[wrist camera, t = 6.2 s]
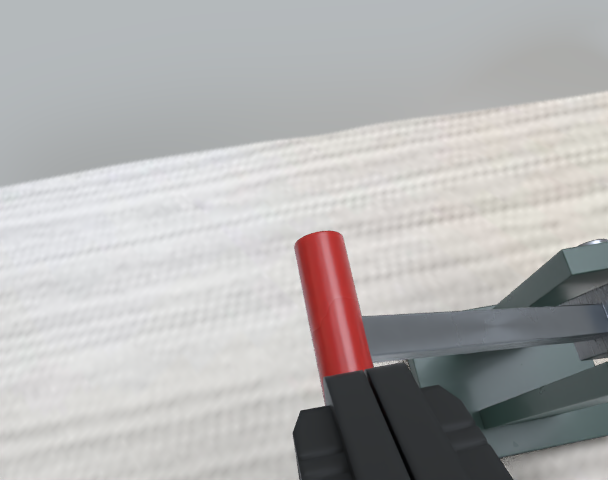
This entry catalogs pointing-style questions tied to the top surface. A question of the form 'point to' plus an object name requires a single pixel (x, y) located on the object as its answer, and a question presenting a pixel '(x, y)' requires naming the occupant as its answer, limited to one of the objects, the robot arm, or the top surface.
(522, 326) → the lever
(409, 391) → the robot arm
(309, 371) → the top surface
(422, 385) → the bracket
